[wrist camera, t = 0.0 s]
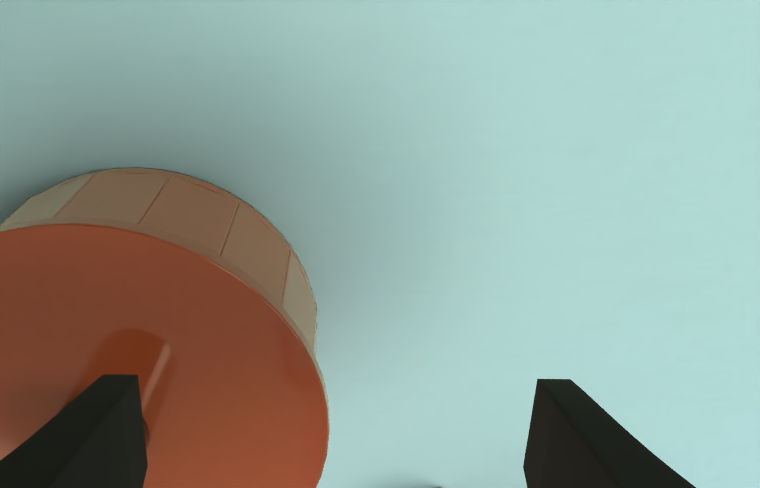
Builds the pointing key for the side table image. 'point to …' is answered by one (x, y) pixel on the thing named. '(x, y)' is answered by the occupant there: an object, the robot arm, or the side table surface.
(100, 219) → the lid
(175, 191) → the cup
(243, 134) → the side table surface
